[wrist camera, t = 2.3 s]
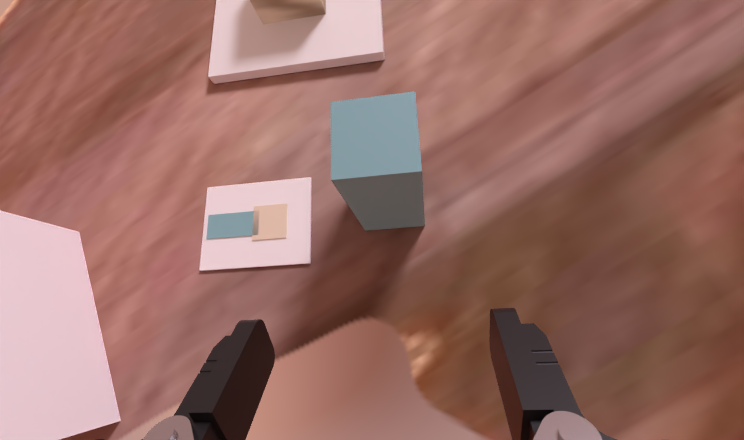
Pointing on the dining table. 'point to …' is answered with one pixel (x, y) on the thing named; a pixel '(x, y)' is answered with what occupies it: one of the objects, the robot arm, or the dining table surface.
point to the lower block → (287, 9)
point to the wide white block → (49, 336)
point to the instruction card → (257, 225)
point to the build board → (293, 40)
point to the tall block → (378, 160)
